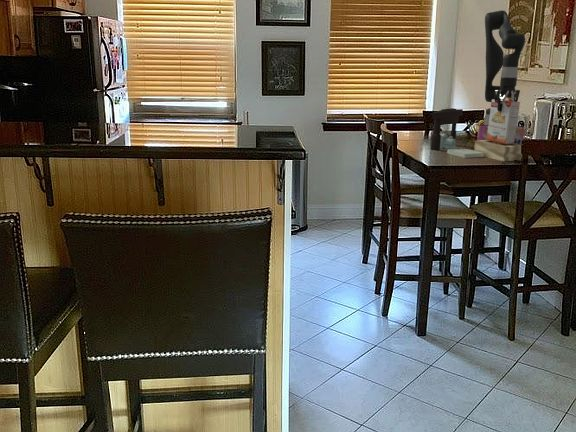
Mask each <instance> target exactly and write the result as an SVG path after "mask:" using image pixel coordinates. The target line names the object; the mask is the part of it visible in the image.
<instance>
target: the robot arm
mask: <svg viewBox="0 0 576 432" xmlns="http://www.w3.org/2000/svg"><path fill="white" fill-rule="evenodd" d="M484 29H485V32H484V33H485V88H484V100H485V102H487V103H491V102H492V99H495V102H497V103H498V108H497V110H498V111H500V112H501V111H502V106H503V104H502V103H503V101H504V100H509V101H515V102H519V96H520V93H521V90H520V89H516V87H517V82H518V74H519V60H520V57H521V55H522V51H523V49H524V46H525V43H526V37H525V35H524V34H522V33H517V31H516V29H514V28H513V26H512V23H511V20H510V18H509V15H508V13H507V11H506V10H496V11H490V12H486V14H485V17H484ZM496 30H498V36H499V38H500V39H501V46H500V44H499V43H498V42H497V40H496V39H495V37H494V35H493V31H496ZM503 49H505V50H513V52H512V53H508V54H504V50H503ZM500 71H501V72H500ZM499 72H500V73H501V74H500V81H499V85H493V82H494V79H495V77H496V76H497V75H498V74H499ZM490 110H491V107H489V108H486V109H485V117H484V124H483V125H489V117H490Z"/></svg>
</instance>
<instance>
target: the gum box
mask: <svg viewBox="0 0 576 432" xmlns="http://www.w3.org/2000/svg"><path fill="white" fill-rule="evenodd" d="M487 132H488V125H484V124H478V129H477V139H476V140H487ZM525 135H526V128H525V127H524V126H519V125H517V126H516V133H515V140H514V143H516V144H521V140H522V139H523V140H524V137H525Z"/></svg>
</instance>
